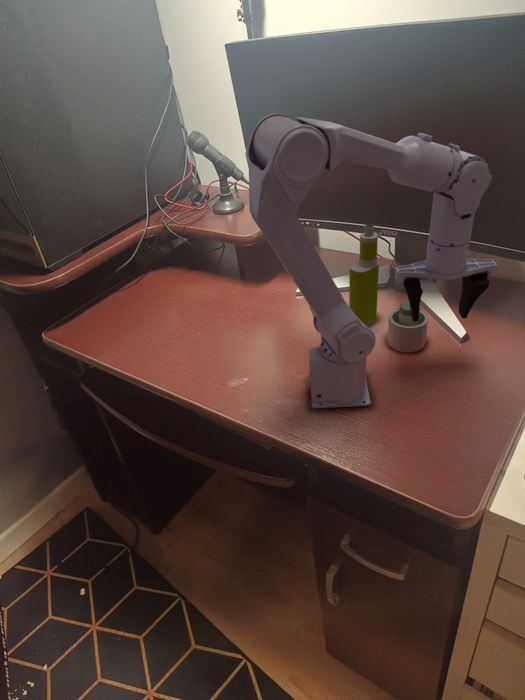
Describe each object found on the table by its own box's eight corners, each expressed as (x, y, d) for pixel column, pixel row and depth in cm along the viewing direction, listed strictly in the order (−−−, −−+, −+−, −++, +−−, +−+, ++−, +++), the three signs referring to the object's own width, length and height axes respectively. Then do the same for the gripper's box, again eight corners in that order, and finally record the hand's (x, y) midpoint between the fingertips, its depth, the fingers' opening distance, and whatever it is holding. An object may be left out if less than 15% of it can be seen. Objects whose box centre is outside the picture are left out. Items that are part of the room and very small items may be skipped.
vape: (379, 318, 94) (384, 224, 83) (360, 330, 92) (362, 235, 80) (365, 311, 97) (368, 220, 85) (346, 323, 94) (346, 230, 82)
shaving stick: (402, 346, 85) (405, 311, 81) (393, 335, 88) (396, 302, 84) (419, 342, 86) (423, 307, 81) (411, 332, 88) (414, 298, 84)
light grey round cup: (391, 353, 85) (392, 329, 82) (384, 332, 90) (386, 308, 87) (429, 351, 84) (432, 326, 81) (420, 330, 90) (423, 306, 86)
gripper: (491, 223, 70) (476, 300, 78) (393, 232, 71) (388, 306, 79) (509, 243, 64) (491, 324, 72) (402, 251, 66) (396, 330, 74)
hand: (438, 316), depth 76 cm, fingers open, 7 cm apart
